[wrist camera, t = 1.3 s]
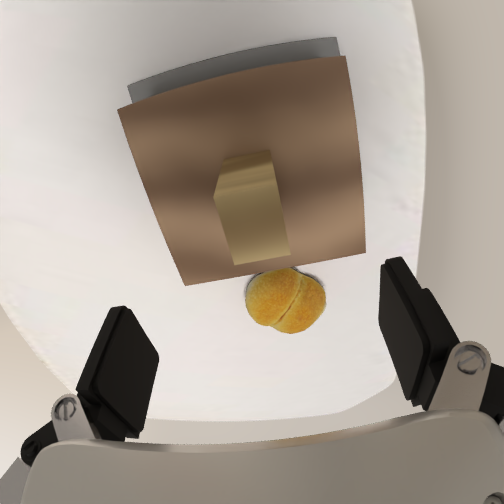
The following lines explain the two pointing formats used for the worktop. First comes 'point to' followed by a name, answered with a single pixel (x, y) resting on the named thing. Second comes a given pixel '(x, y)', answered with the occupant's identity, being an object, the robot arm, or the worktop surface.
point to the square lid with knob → (253, 168)
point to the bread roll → (285, 300)
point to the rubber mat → (233, 65)
